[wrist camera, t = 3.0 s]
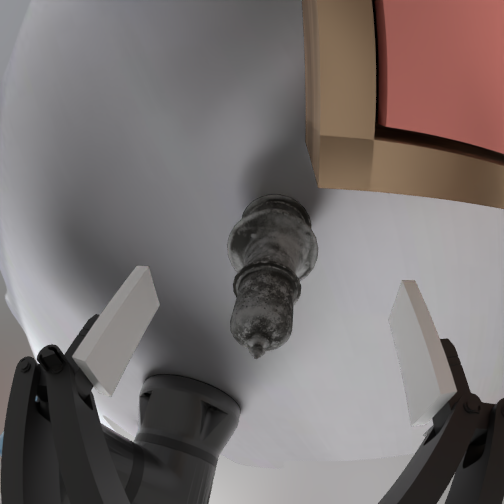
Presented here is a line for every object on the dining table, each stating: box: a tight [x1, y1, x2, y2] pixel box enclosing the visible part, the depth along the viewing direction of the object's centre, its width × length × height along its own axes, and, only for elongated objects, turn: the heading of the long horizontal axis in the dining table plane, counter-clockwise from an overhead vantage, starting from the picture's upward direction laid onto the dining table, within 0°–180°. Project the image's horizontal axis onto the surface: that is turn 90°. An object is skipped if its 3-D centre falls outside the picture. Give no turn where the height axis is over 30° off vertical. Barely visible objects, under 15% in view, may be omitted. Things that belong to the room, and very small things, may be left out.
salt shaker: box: [227, 195, 318, 359], centre depth 16 cm, size 6×6×12 cm
